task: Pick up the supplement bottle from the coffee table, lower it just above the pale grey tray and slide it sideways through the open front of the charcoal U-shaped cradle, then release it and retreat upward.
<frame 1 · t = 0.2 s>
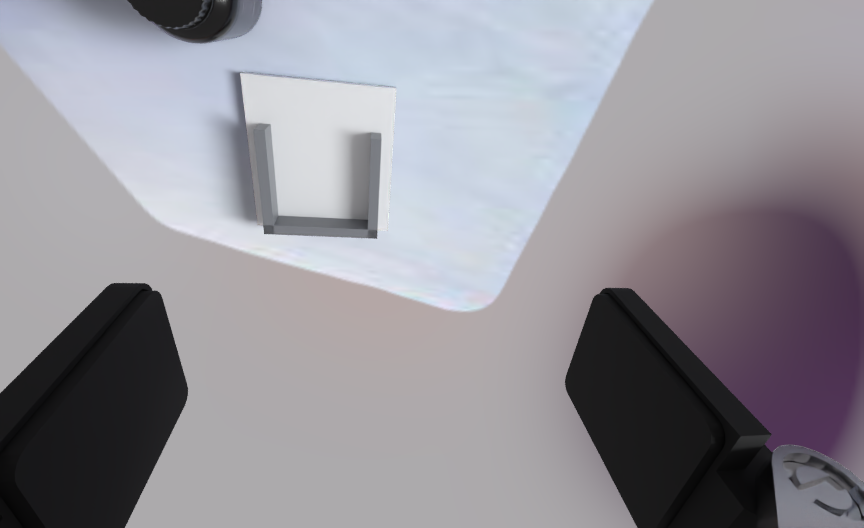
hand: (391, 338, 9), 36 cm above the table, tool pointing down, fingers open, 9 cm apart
cradle tray: (323, 158, 43), on the table
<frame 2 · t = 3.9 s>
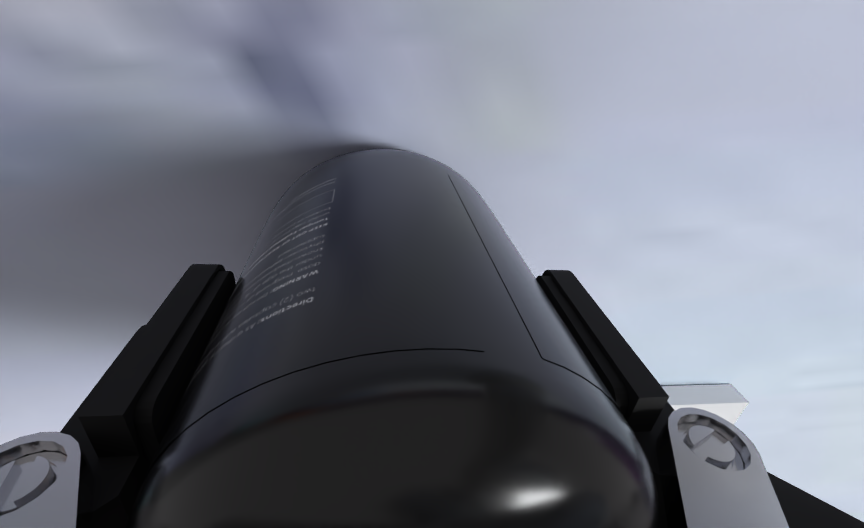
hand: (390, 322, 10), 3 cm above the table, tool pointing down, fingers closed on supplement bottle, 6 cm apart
cradle tray: (538, 495, 20), on the table
supplement bottle: (386, 252, 13), on the table, touching gripper
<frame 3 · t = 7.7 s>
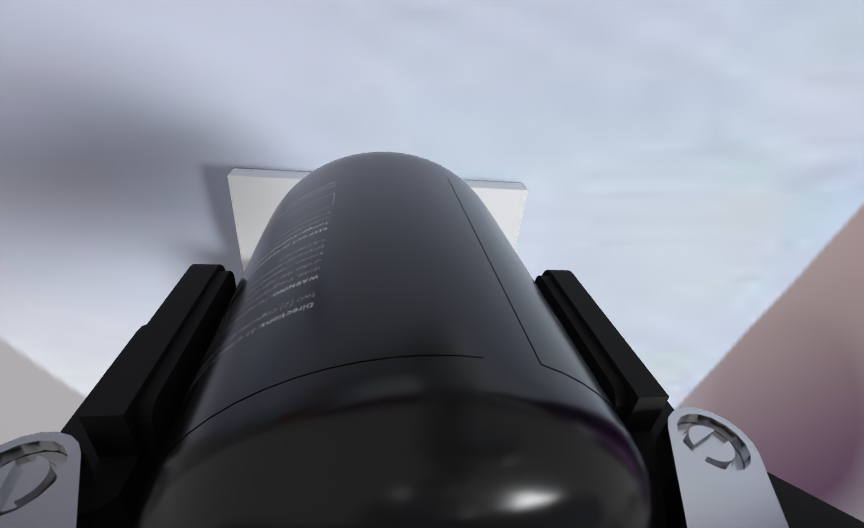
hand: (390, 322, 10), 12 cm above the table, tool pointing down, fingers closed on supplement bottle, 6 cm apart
cradle tray: (380, 299, 24), on the table
supplement bottle: (386, 254, 13), point 8 cm above the table, touching gripper
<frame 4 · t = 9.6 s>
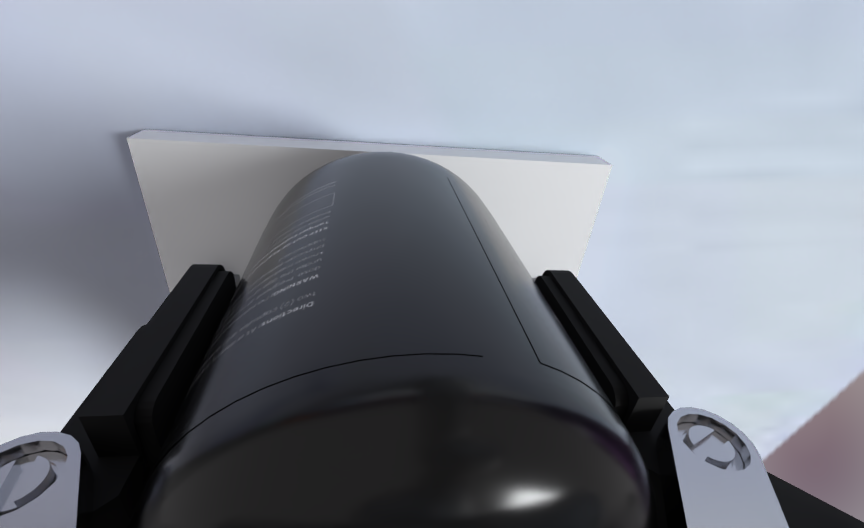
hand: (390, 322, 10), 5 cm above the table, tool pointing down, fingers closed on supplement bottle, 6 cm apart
cradle tray: (382, 330, 17), on the table
supplement bottle: (386, 254, 13), point 2 cm above the table, touching gripper
when the fingers open (5 cm above the table, at t = 11.5 s): supplement bottle stays where it is, resting on cradle tray.
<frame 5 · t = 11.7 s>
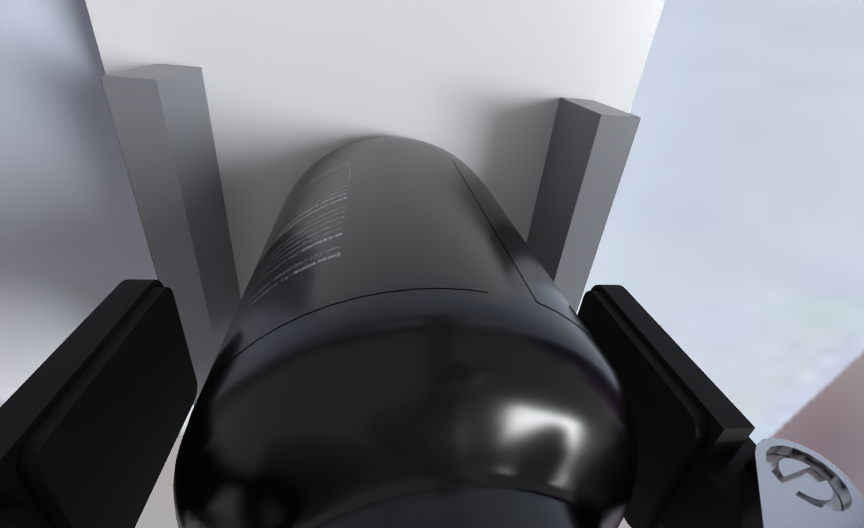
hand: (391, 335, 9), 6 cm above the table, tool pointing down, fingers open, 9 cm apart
cradle tray: (386, 186, 13), on the table
supplement bottle: (393, 236, 13), point 1 cm above the table, touching cradle tray
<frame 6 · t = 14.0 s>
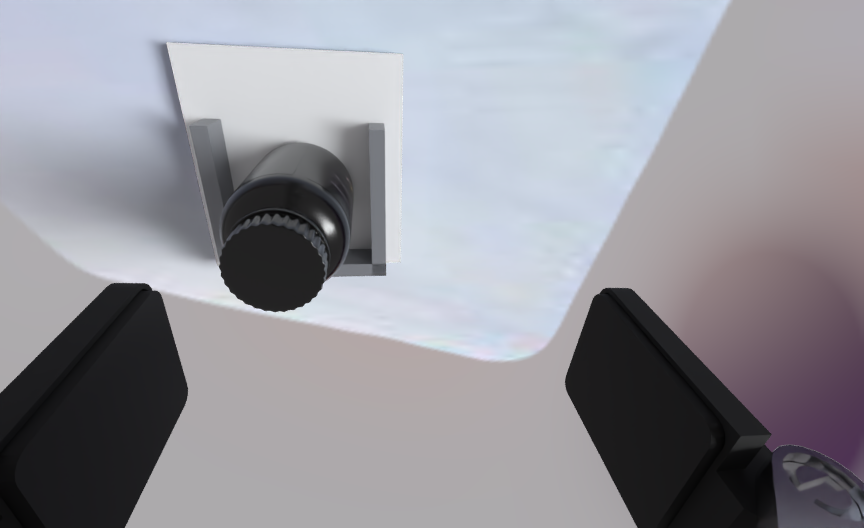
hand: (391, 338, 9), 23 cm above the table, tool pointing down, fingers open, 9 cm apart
cradle tray: (303, 165, 30), on the table
supplement bottle: (307, 187, 30), point 1 cm above the table, touching cradle tray
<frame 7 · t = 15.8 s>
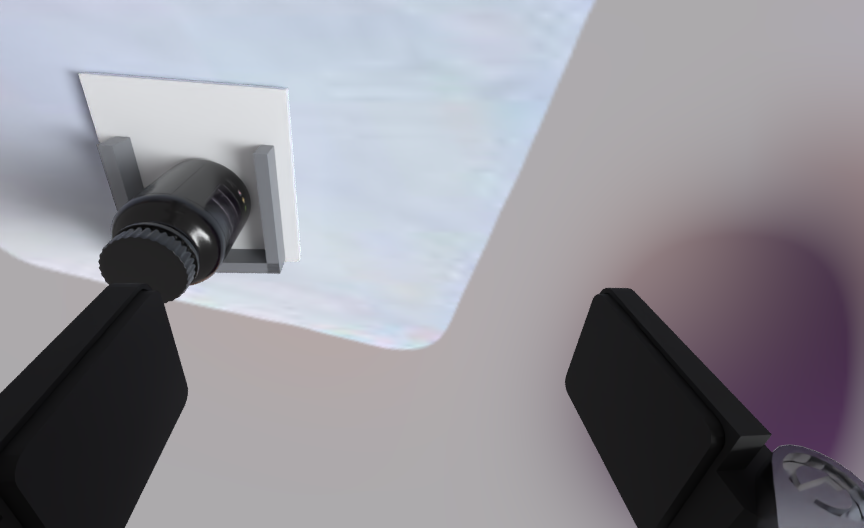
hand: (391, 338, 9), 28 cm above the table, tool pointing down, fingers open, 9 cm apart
cradle tray: (208, 177, 35), on the table
supplement bottle: (211, 196, 35), point 1 cm above the table, touching cradle tray
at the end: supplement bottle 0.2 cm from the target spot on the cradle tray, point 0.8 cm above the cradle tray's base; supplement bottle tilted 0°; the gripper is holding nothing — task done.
